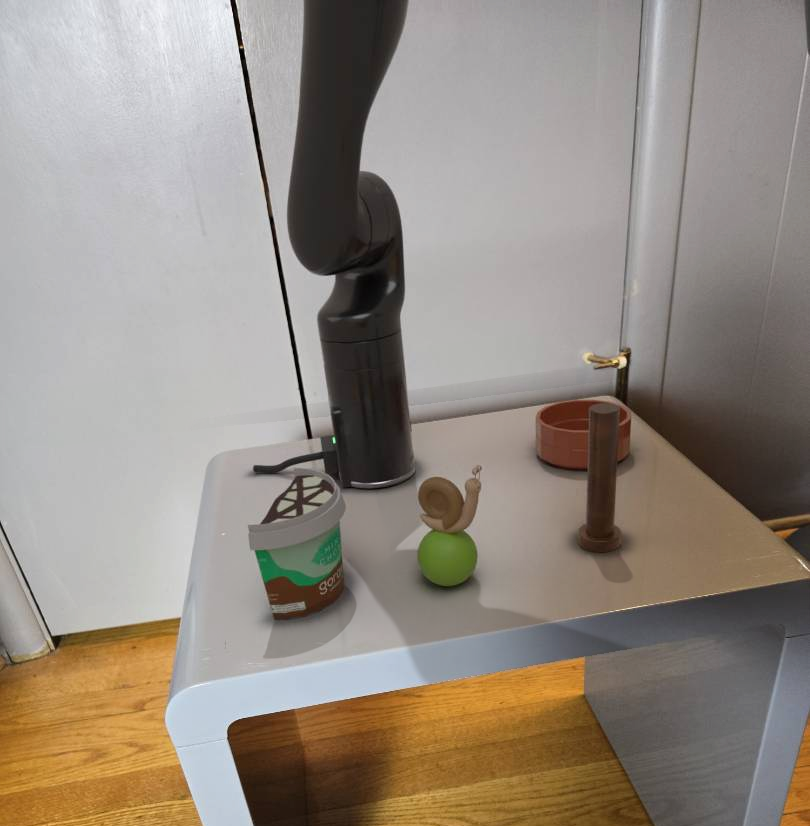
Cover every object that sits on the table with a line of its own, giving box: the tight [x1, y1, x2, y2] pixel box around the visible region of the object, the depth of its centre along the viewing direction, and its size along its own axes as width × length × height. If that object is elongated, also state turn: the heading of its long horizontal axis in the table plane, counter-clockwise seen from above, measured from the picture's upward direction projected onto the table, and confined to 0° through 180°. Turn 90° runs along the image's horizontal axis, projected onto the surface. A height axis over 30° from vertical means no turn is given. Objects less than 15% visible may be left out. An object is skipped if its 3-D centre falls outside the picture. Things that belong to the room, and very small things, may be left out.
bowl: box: [535, 399, 632, 470], centre depth 89 cm, size 11×11×5 cm
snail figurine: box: [416, 464, 483, 587], centre depth 65 cm, size 5×6×12 cm
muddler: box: [577, 403, 622, 553], centre depth 68 cm, size 4×4×14 cm
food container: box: [247, 467, 347, 620], centre depth 66 cm, size 12×6×10 cm, turn 168°
